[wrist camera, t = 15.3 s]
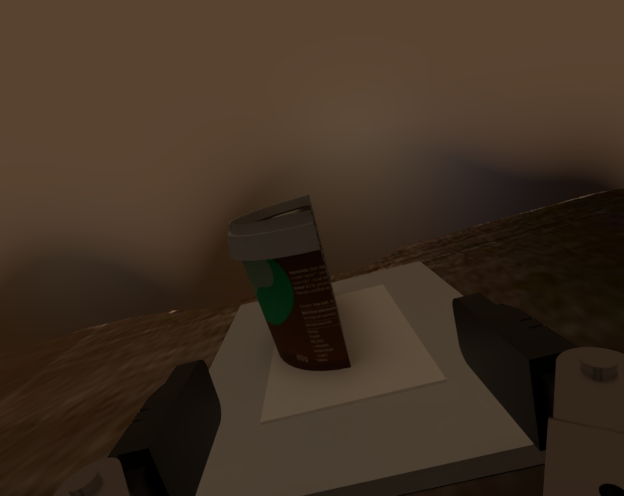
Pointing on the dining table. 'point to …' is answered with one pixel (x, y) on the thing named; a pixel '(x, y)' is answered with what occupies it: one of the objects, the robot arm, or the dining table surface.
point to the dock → (360, 402)
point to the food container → (291, 283)
